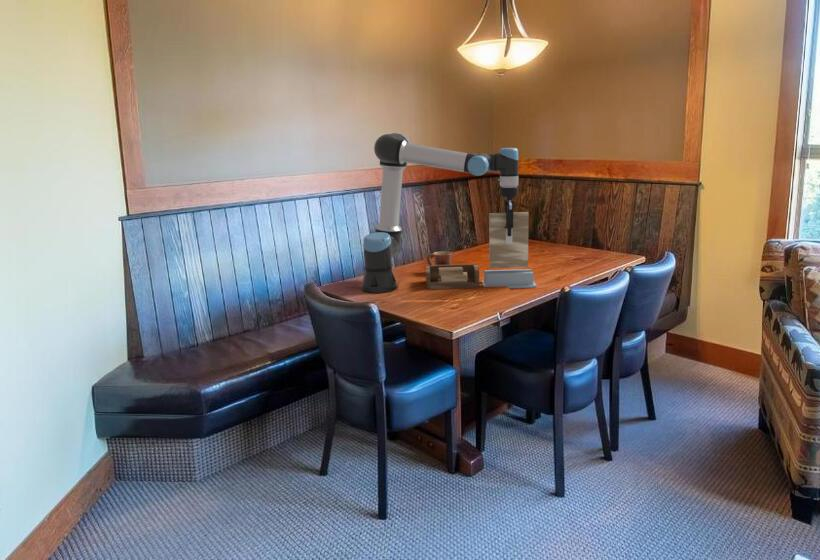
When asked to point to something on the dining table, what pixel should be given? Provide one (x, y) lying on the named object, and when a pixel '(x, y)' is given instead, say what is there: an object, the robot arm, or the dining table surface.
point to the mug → (440, 258)
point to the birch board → (498, 249)
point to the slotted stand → (509, 278)
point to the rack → (433, 277)
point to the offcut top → (450, 271)
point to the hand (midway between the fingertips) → (508, 242)
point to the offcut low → (451, 281)
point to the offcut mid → (455, 277)
